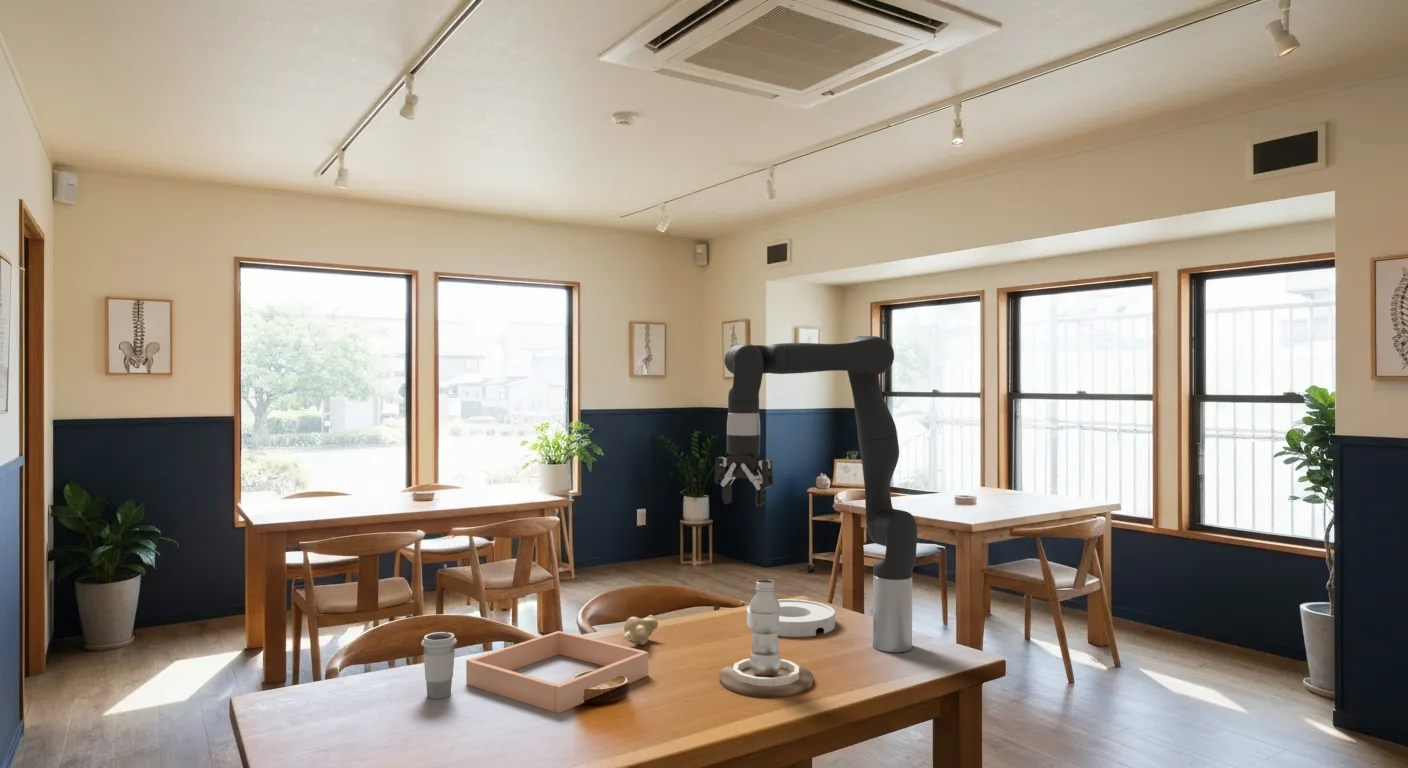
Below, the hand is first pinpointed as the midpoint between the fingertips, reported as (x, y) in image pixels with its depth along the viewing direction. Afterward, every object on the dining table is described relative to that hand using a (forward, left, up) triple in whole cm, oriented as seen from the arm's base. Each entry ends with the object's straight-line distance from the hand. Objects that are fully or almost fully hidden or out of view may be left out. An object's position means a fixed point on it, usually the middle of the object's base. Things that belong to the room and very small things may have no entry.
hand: (743, 504), depth 202 cm
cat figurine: (+2, -29, -36) cm, 47 cm away
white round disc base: (-35, -8, -37) cm, 51 cm away
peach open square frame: (+32, -26, -36) cm, 55 cm away
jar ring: (+6, +10, -35) cm, 37 cm away
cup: (+53, -39, -36) cm, 75 cm away
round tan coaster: (+6, +10, -36) cm, 38 cm away
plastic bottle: (+6, +10, -35) cm, 37 cm away
